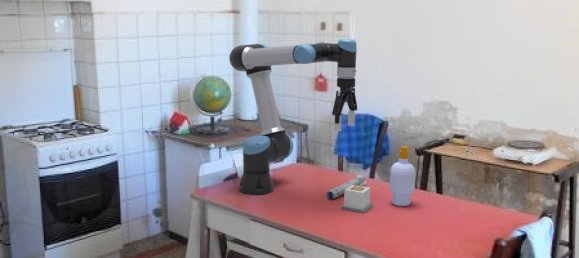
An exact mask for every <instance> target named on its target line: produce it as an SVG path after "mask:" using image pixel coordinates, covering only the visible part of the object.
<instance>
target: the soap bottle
mask: <svg viewBox="0 0 579 258" xmlns="http://www.w3.org/2000/svg"><path fill="white" fill-rule="evenodd" d="M409 147H410V146H409V145H405V146H400V150H399V152H398V161H397V162H394V163H393V164H392V166H391V168H390V170H389V171H390V172H389V191H390V192H391V193H392V195H391V196H392V197H391V200H392V202H391V203H392V204H393V205H394V206H399V207H407V206H410V205H411V202H412V200H411V199H412V194H413V193H415V187H416V185H415V184H416V168H415V167H414V165H413V164H412V163H410V162H409V150H408V148H409Z"/></svg>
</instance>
